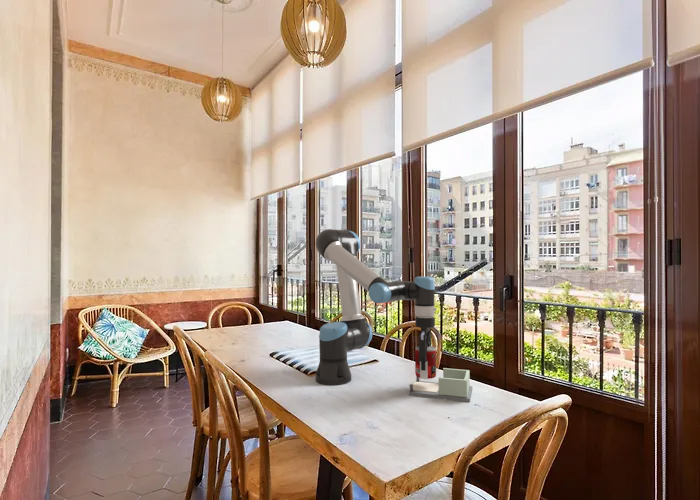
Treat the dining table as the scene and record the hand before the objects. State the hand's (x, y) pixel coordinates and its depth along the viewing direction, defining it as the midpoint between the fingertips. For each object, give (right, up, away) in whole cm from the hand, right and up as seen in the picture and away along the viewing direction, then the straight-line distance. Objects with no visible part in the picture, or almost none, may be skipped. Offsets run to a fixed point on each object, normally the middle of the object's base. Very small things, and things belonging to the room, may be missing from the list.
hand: (425, 375), depth 160 cm
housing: (+10, -4, -4) cm, 12 cm away
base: (+6, -6, -2) cm, 8 cm away
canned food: (0, 0, 0) cm, 0 cm away
